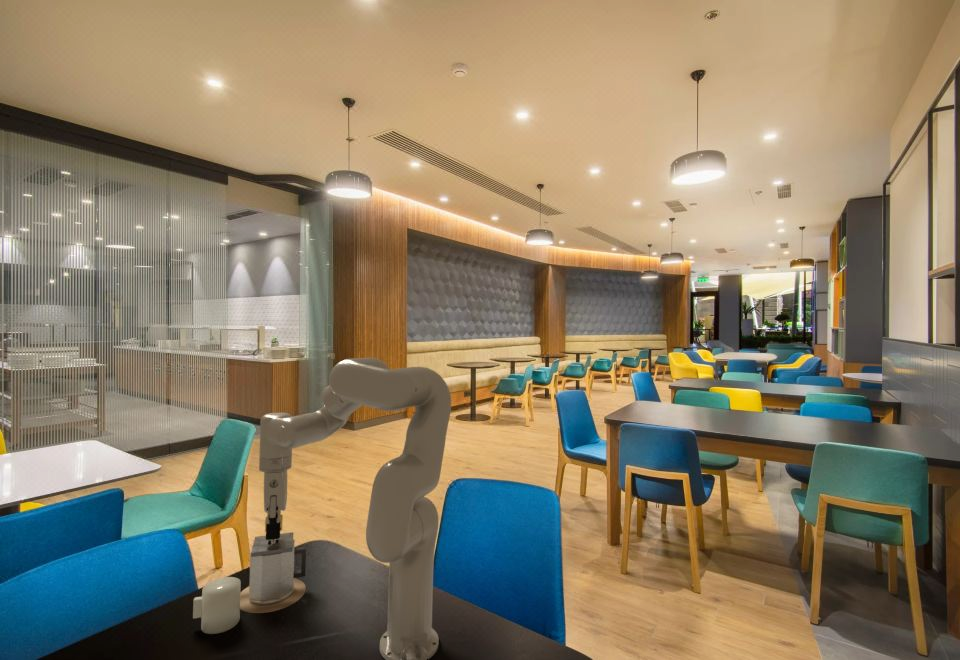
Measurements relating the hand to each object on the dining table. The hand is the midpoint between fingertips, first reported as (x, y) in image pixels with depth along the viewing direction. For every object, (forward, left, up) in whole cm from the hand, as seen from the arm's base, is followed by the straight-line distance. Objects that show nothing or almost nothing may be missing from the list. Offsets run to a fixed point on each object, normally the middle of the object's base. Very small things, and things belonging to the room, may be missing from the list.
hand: (273, 534), depth 116 cm
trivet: (0, 0, -16) cm, 16 cm away
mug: (-9, +10, -16) cm, 21 cm away
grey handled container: (0, -1, -15) cm, 15 cm away
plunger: (0, 0, -13) cm, 13 cm away
